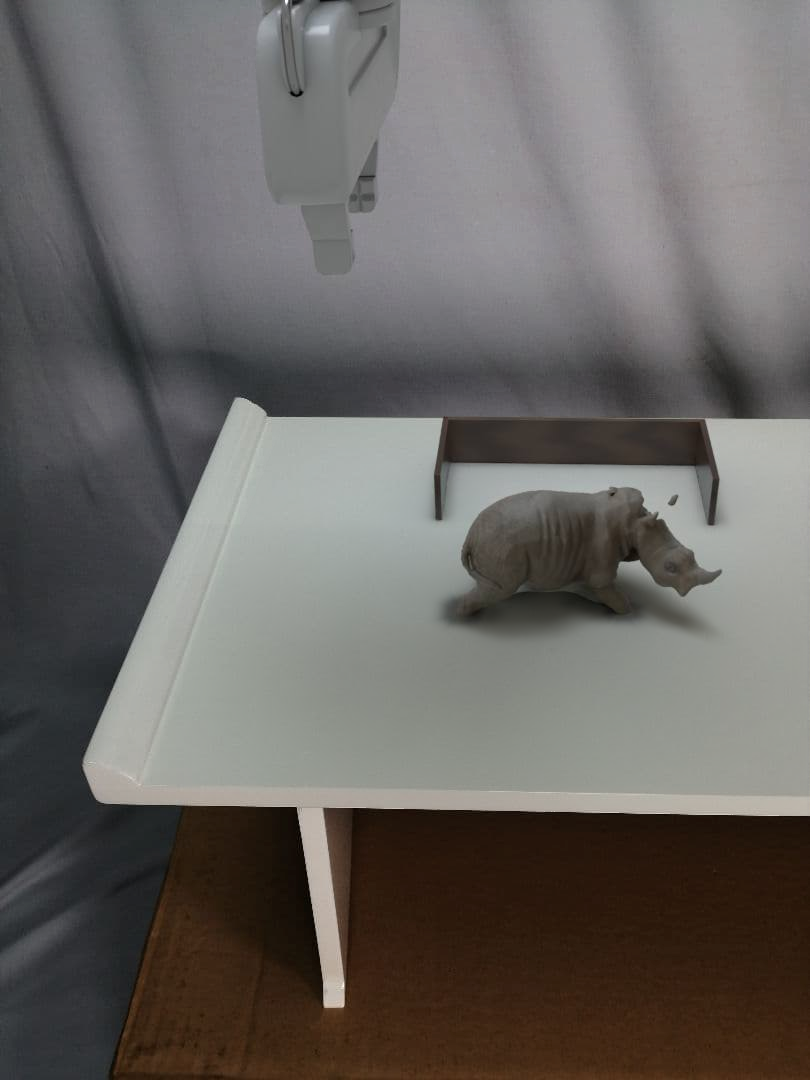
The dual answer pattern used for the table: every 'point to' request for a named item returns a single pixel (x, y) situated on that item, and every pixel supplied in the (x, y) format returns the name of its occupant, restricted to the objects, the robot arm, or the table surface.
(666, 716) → the table surface
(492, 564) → the rhinoceros figurine
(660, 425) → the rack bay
